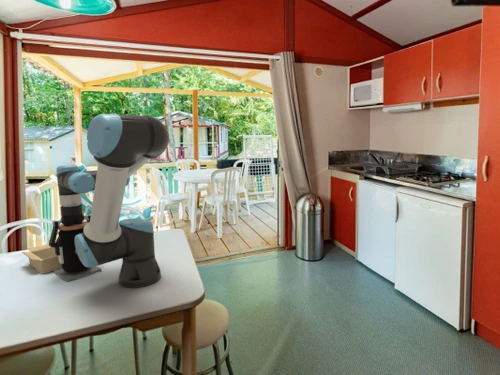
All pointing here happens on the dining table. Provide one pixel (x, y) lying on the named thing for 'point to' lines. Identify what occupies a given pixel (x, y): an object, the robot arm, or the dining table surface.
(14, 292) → the dining table surface
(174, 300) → the dining table surface
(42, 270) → the carton
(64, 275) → the plate
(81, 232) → the coffee jar
